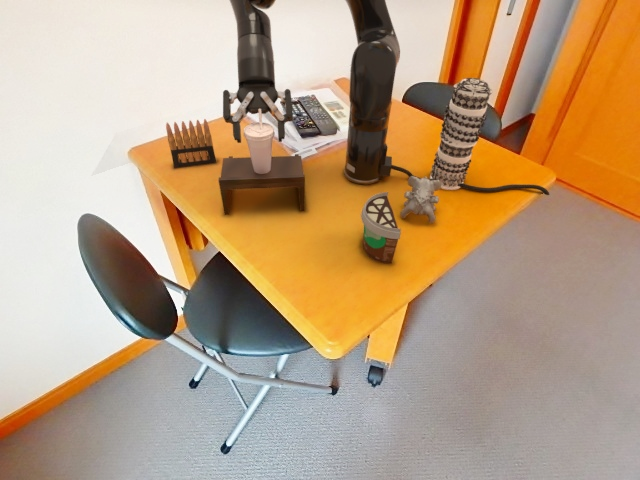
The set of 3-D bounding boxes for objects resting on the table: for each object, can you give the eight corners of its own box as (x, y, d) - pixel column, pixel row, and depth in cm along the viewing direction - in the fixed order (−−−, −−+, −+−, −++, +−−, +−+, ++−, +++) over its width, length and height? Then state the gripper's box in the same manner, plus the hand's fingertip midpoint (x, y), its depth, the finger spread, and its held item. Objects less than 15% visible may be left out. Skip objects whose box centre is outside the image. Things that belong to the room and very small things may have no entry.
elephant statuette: (401, 225, 88) (407, 197, 82) (392, 193, 96) (397, 166, 91) (442, 225, 88) (451, 197, 83) (430, 193, 97) (437, 166, 92)
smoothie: (271, 179, 86) (267, 118, 76) (243, 175, 86) (236, 114, 77) (280, 163, 90) (277, 104, 81) (253, 160, 91) (247, 100, 82)
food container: (353, 228, 86) (357, 191, 80) (380, 227, 87) (387, 190, 80) (362, 270, 77) (367, 231, 71) (393, 268, 78) (401, 230, 71)
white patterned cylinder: (421, 180, 101) (444, 81, 84) (439, 166, 106) (465, 70, 89) (453, 195, 97) (484, 94, 80) (471, 180, 102) (504, 82, 85)
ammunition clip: (215, 159, 106) (208, 117, 98) (216, 163, 104) (209, 120, 96) (174, 164, 103) (163, 121, 95) (174, 168, 102) (162, 124, 94)
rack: (298, 162, 106) (298, 129, 99) (304, 211, 90) (304, 176, 84) (230, 164, 104) (225, 131, 98) (224, 215, 89) (218, 180, 82)
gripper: (218, 55, 78) (221, 137, 78) (290, 54, 79) (294, 135, 79) (223, 73, 86) (227, 147, 85) (289, 72, 87) (293, 145, 86)
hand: (259, 141), depth 82 cm, fingers open, 8 cm apart
